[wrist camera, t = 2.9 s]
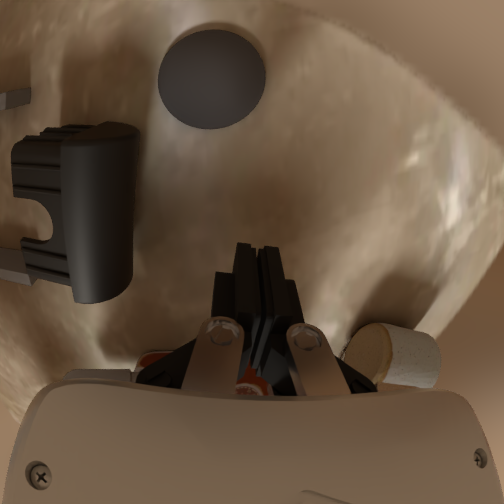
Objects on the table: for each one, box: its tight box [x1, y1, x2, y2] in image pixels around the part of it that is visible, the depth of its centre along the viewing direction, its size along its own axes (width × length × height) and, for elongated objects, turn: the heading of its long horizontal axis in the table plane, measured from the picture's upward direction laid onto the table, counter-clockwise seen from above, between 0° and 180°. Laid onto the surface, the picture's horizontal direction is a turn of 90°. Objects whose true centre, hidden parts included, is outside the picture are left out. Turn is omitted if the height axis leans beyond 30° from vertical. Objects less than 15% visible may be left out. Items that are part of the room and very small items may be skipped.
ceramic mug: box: [344, 323, 441, 388], centre depth 27 cm, size 11×8×8 cm
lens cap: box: [158, 30, 265, 129], centre depth 16 cm, size 6×6×1 cm
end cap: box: [11, 121, 140, 304], centre depth 16 cm, size 10×7×7 cm
